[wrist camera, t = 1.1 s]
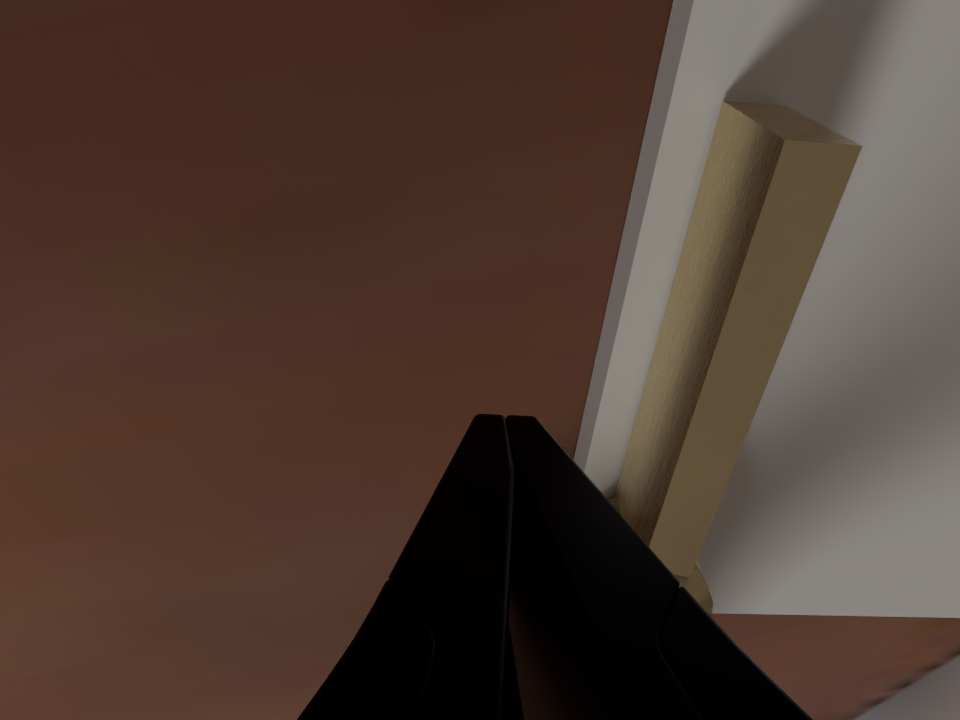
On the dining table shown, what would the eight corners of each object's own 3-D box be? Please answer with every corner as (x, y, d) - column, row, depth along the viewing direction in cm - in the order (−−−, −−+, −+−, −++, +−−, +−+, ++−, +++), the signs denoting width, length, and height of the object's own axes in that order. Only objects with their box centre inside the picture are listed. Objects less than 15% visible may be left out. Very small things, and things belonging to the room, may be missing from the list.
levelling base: (941, 588, 29) (987, 649, 27) (547, 579, 28) (557, 643, 25) (1395, -29, 16) (1566, -21, 14) (696, -105, 15) (746, -112, 12)
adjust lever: (666, 568, 25) (694, 651, 22) (564, 565, 25) (579, 649, 22) (833, 110, 16) (919, 150, 13) (673, 96, 16) (725, 135, 13)
